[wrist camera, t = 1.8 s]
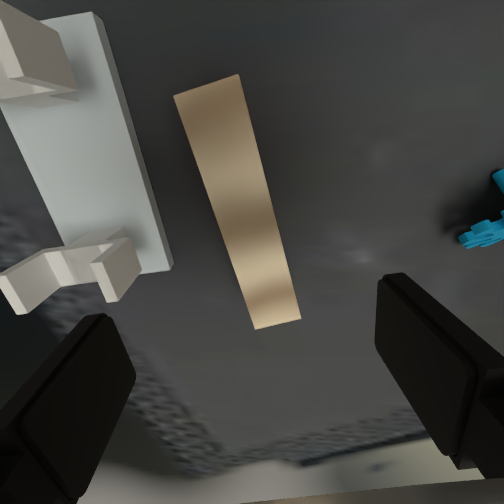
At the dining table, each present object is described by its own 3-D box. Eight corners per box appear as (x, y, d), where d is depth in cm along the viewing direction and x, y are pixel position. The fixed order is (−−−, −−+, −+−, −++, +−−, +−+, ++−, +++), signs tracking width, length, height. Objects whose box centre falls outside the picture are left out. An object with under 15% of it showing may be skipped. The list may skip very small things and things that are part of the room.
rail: (194, 107, 22) (173, 95, 15) (240, 92, 21) (238, 73, 15) (253, 286, 29) (255, 329, 23) (288, 277, 29) (301, 318, 22)
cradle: (-15, 41, 20) (-224, -35, 11) (102, 20, 19) (-16, -75, 11) (90, 274, 28) (18, 338, 19) (174, 263, 27) (140, 322, 19)
